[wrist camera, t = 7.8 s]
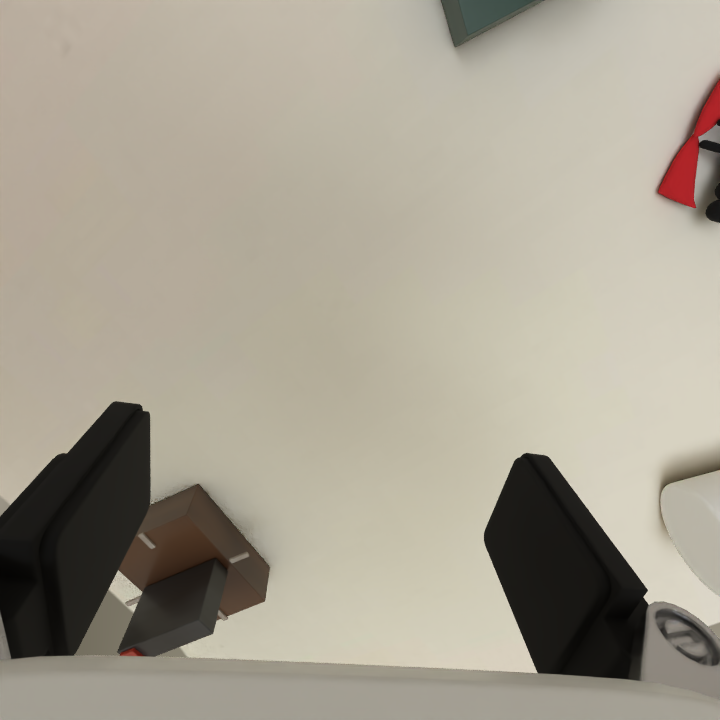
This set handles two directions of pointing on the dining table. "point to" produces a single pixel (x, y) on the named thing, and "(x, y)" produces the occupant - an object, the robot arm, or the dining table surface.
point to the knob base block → (195, 549)
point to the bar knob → (176, 611)
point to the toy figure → (694, 160)
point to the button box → (480, 15)
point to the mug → (695, 524)
